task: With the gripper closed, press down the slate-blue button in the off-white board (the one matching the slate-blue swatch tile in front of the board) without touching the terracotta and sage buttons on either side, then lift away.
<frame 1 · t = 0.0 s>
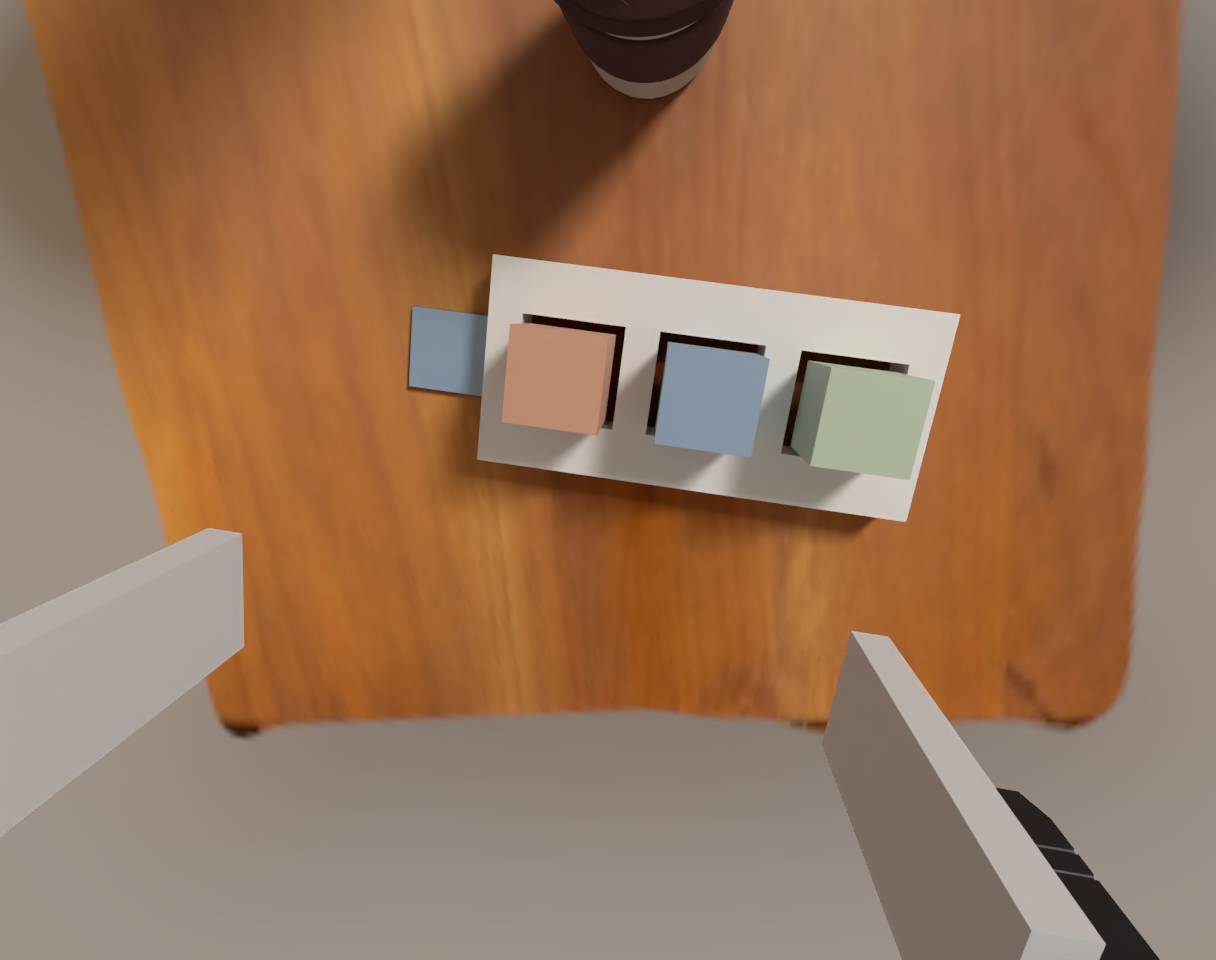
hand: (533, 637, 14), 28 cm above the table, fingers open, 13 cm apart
button terracotta: (561, 376, 35), point 5 cm above the table, slide at 0.0 cm
coffee cup: (649, 30, 35), on the table
button slate: (707, 396, 34), point 5 cm above the table, slide at 0.0 cm
button sage: (855, 416, 34), point 5 cm above the table, slide at 0.0 cm
button board: (701, 385, 39), on the table
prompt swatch: (451, 351, 40), on the table
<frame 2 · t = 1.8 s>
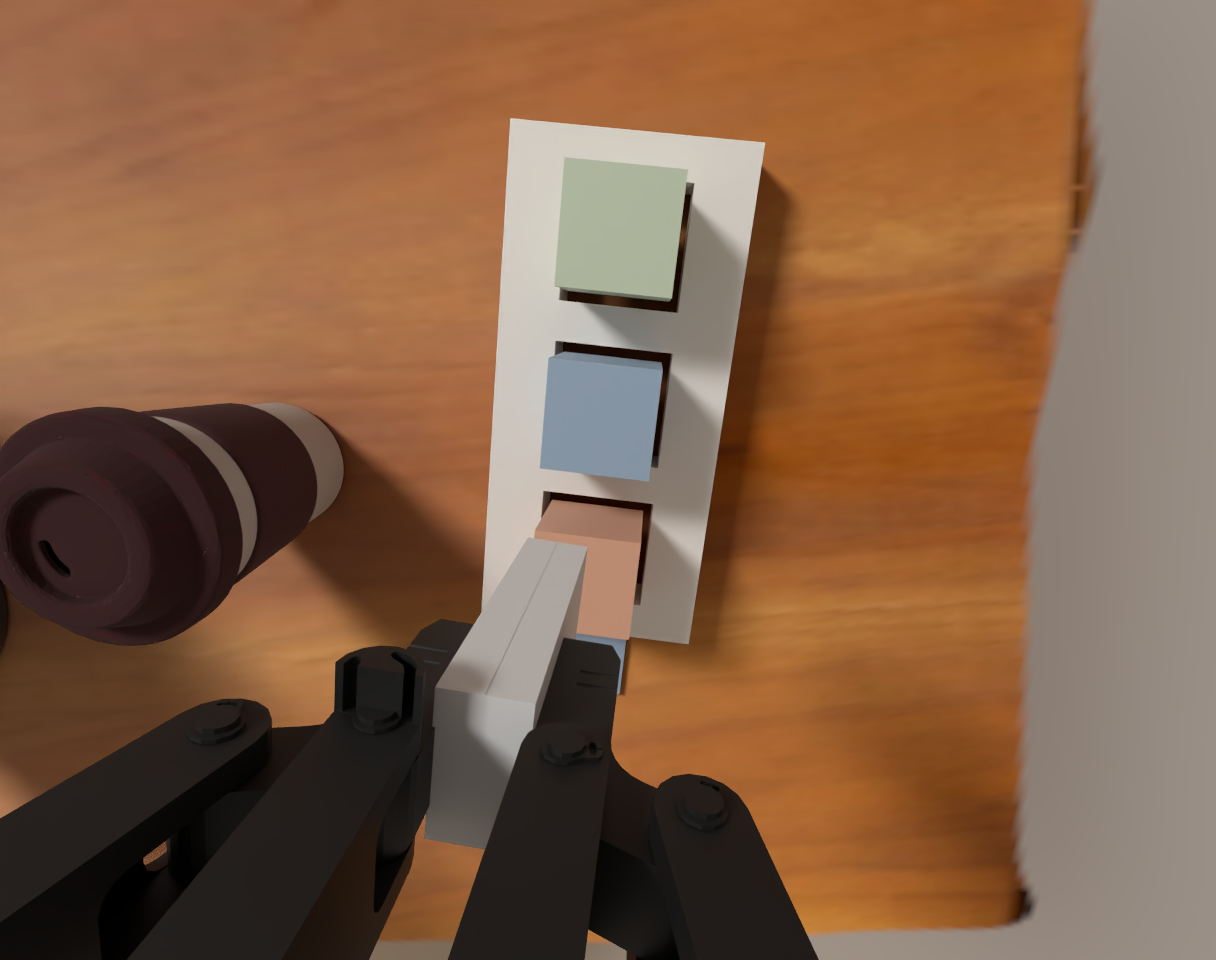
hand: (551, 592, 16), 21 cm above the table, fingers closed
button terracotta: (588, 565, 33), point 5 cm above the table, slide at 0.0 cm
coffee cup: (290, 460, 38), on the table
button slate: (604, 412, 31), point 5 cm above the table, slide at 0.0 cm
button sage: (622, 237, 29), point 5 cm above the table, slide at 0.0 cm
button board: (611, 398, 36), on the table
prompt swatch: (584, 650, 40), on the table
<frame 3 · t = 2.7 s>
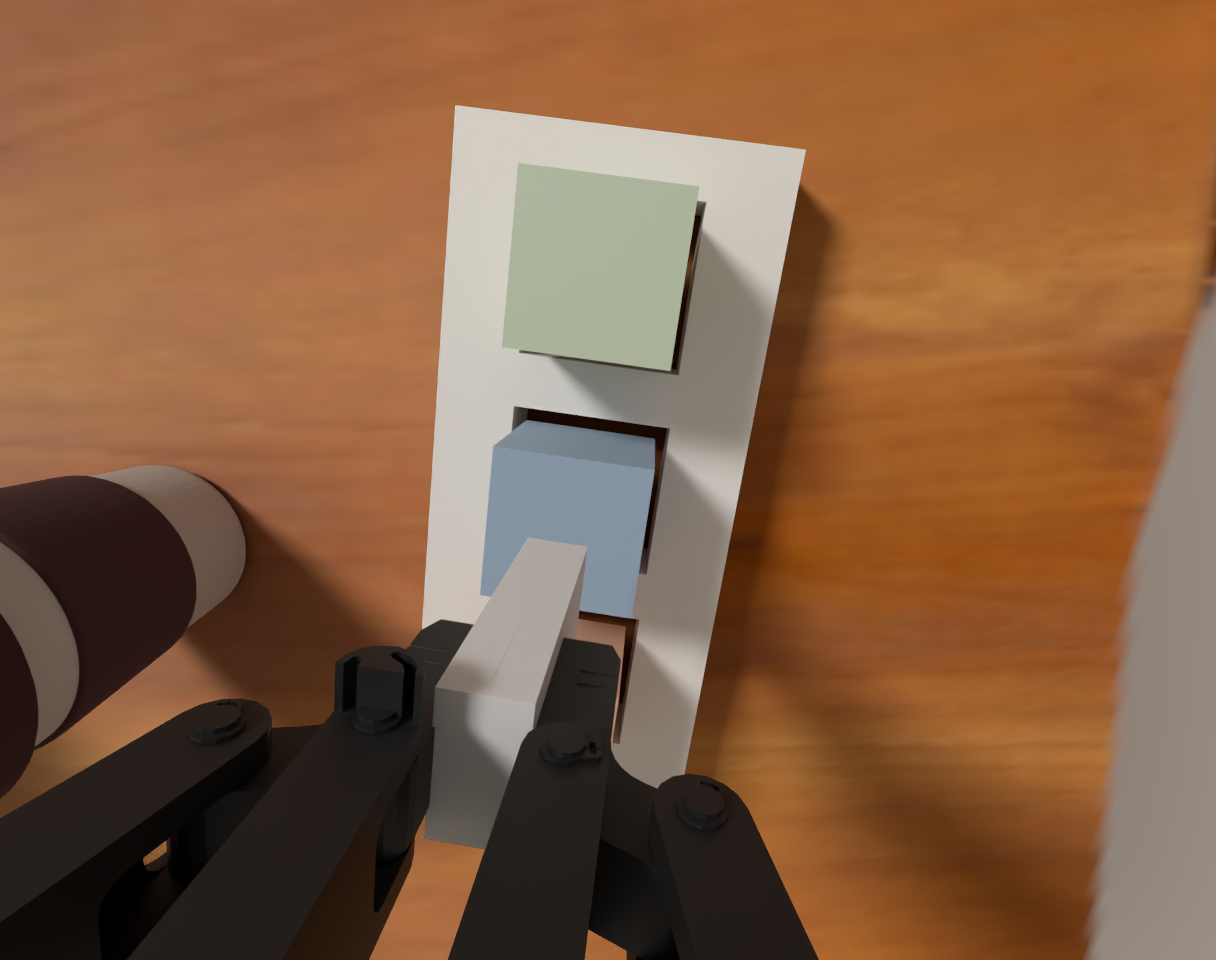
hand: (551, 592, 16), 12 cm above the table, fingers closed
button terracotta: (549, 706, 24), point 5 cm above the table, slide at 0.0 cm
coffee cup: (180, 535, 30), on the table
button slate: (574, 510, 22), point 5 cm above the table, slide at 0.0 cm
button sage: (603, 276, 20), point 5 cm above the table, slide at 0.0 cm
button board: (589, 474, 28), on the table
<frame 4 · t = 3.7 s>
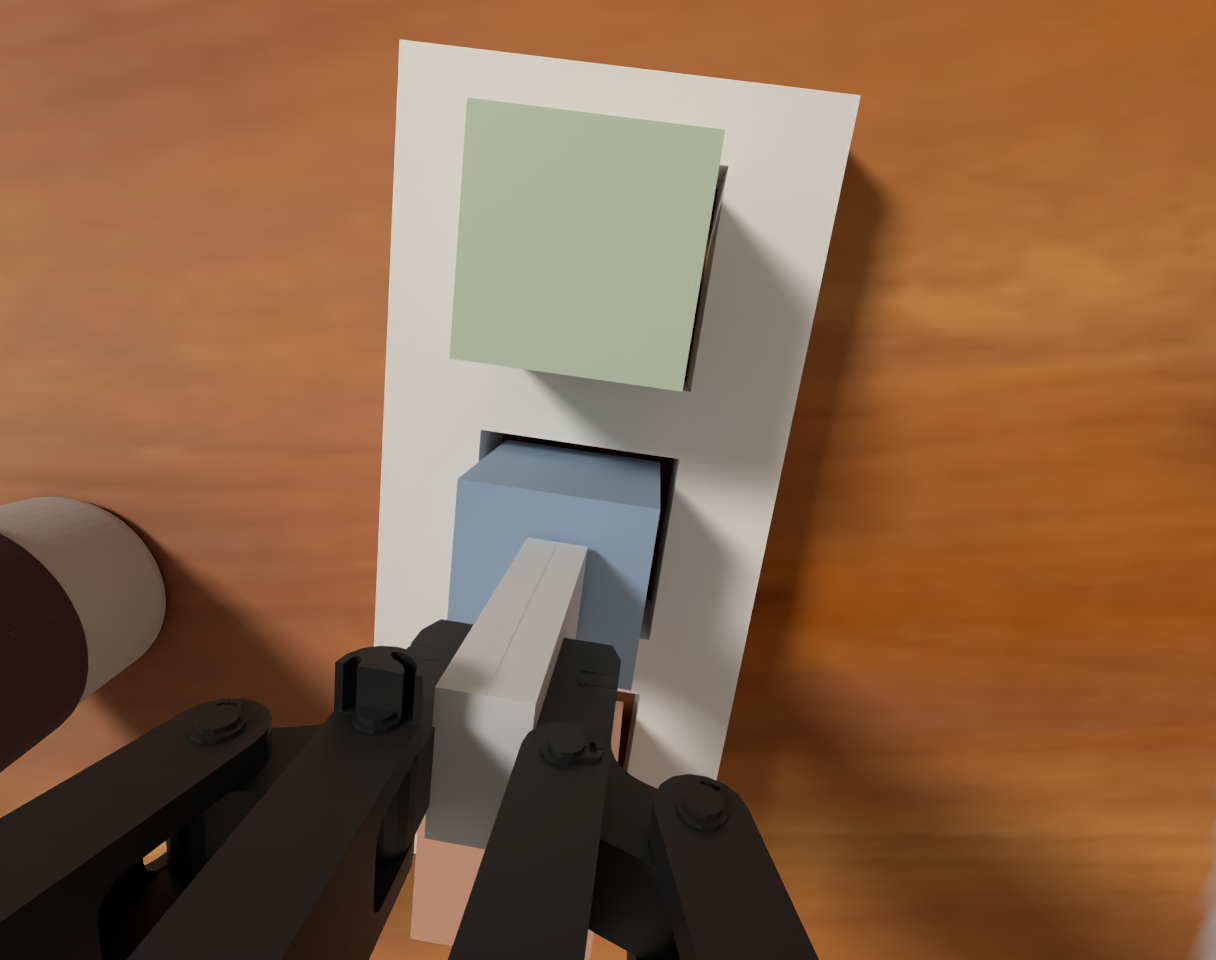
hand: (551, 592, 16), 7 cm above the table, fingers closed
button terracotta: (526, 809, 19), point 5 cm above the table, slide at 0.0 cm
coffee cup: (89, 579, 25), on the table
button slate: (562, 551, 19), point 4 cm above the table, slide at 1.3 cm, touching gripper
button sage: (592, 261, 15), point 5 cm above the table, slide at 0.0 cm
button board: (579, 510, 22), on the table
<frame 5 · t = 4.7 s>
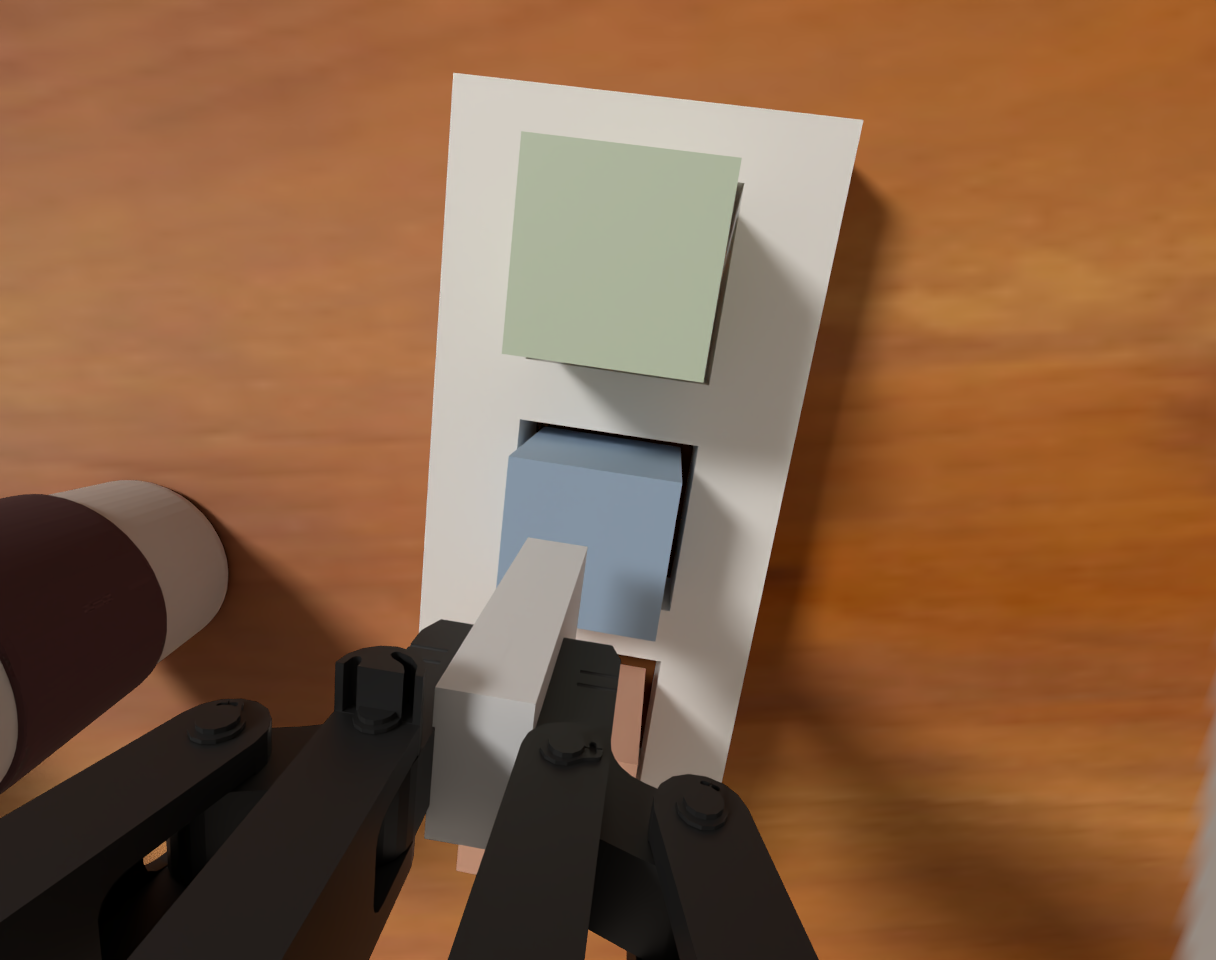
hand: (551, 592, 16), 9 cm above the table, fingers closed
button terracotta: (558, 761, 21), point 5 cm above the table, slide at 0.0 cm
coffee cup: (159, 556, 28), on the table
button slate: (594, 523, 21), point 4 cm above the table, slide at 1.8 cm
button sage: (623, 269, 17), point 5 cm above the table, slide at 0.0 cm
button board: (606, 494, 25), on the table
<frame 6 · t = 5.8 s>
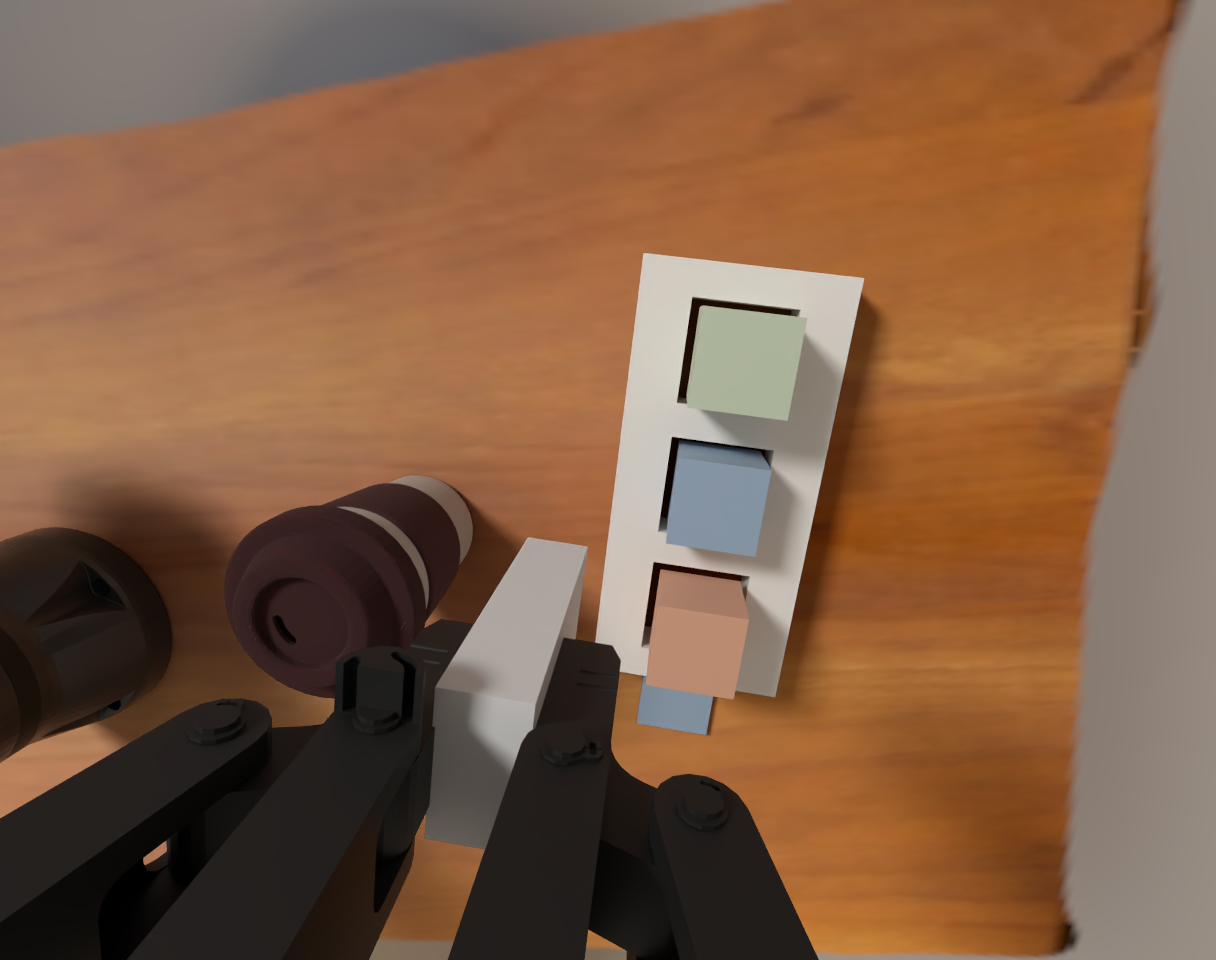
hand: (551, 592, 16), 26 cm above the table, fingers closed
button terracotta: (695, 630, 38), point 5 cm above the table, slide at 0.0 cm
coffee cup: (425, 523, 44), on the table
button slate: (715, 495, 37), point 4 cm above the table, slide at 1.8 cm
button sage: (740, 360, 34), point 5 cm above the table, slide at 0.0 cm
button board: (711, 479, 41), on the table
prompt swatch: (676, 695, 45), on the table
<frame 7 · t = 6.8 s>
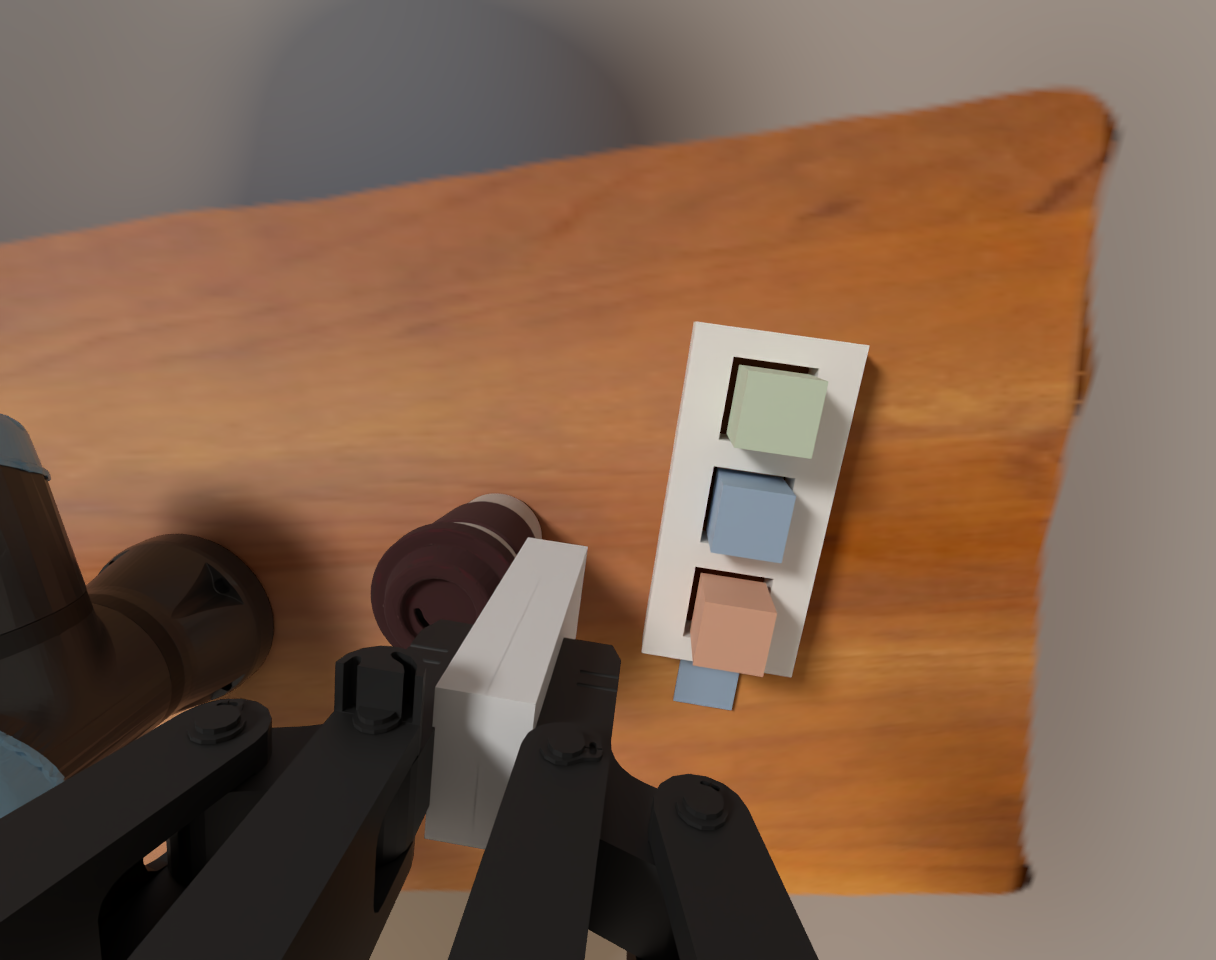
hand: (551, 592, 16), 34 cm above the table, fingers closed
button terracotta: (730, 622, 47), point 5 cm above the table, slide at 0.0 cm
coffee cup: (500, 533, 53), on the table
button slate: (747, 513, 46), point 4 cm above the table, slide at 1.8 cm
button sage: (773, 409, 43), point 5 cm above the table, slide at 0.0 cm
button board: (741, 499, 50), on the table
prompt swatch: (707, 677, 54), on the table
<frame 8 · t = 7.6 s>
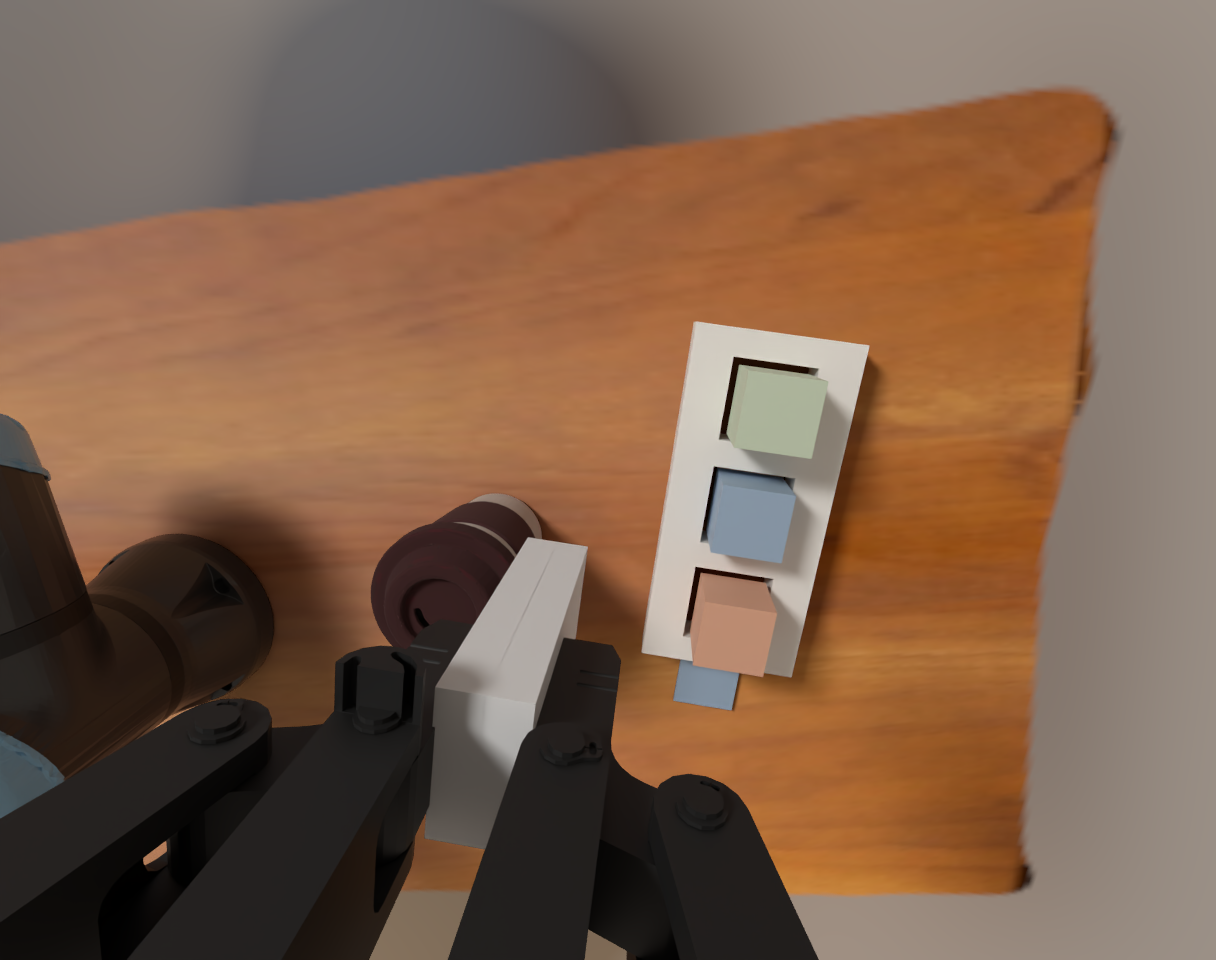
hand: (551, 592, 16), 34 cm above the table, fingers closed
button terracotta: (730, 622, 47), point 5 cm above the table, slide at 0.0 cm
coffee cup: (500, 533, 53), on the table
button slate: (747, 513, 46), point 4 cm above the table, slide at 1.8 cm
button sage: (773, 409, 43), point 5 cm above the table, slide at 0.0 cm
button board: (741, 499, 50), on the table
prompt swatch: (707, 677, 54), on the table
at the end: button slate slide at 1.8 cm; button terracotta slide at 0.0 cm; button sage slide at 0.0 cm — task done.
